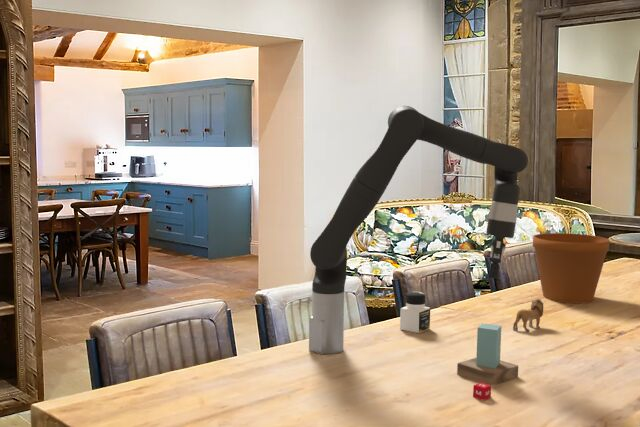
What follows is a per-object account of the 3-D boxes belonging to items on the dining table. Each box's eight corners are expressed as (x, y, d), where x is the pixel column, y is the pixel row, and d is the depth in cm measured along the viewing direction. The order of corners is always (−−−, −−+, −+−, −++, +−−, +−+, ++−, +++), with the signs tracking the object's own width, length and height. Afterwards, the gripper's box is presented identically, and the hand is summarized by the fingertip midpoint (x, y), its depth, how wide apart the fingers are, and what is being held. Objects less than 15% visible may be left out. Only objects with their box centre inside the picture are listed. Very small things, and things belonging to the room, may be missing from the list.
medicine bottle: (419, 333, 230) (420, 296, 229) (399, 329, 234) (400, 293, 233) (430, 329, 236) (431, 292, 234) (410, 325, 240) (411, 289, 239)
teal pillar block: (495, 368, 186) (497, 330, 185) (476, 365, 188) (477, 327, 187) (499, 363, 191) (501, 325, 190) (481, 360, 193) (482, 323, 192)
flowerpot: (516, 292, 294) (519, 234, 291) (575, 288, 302) (578, 232, 300) (559, 307, 267) (562, 244, 265) (622, 303, 276) (625, 242, 273)
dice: (473, 397, 174) (473, 385, 174) (480, 394, 176) (480, 382, 176) (483, 400, 172) (484, 388, 172) (490, 397, 174) (491, 385, 174)
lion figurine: (532, 323, 245) (533, 296, 244) (546, 326, 241) (547, 299, 240) (508, 331, 234) (510, 303, 233) (523, 334, 231) (525, 306, 230)
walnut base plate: (491, 385, 182) (492, 373, 182) (457, 374, 191) (457, 363, 190) (517, 376, 189) (518, 365, 189) (483, 366, 198) (483, 355, 197)
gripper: (516, 221, 195) (507, 281, 196) (515, 221, 209) (506, 277, 209) (488, 217, 197) (479, 276, 197) (488, 217, 211) (480, 272, 211)
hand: (493, 276), depth 203 cm, fingers open, 8 cm apart
